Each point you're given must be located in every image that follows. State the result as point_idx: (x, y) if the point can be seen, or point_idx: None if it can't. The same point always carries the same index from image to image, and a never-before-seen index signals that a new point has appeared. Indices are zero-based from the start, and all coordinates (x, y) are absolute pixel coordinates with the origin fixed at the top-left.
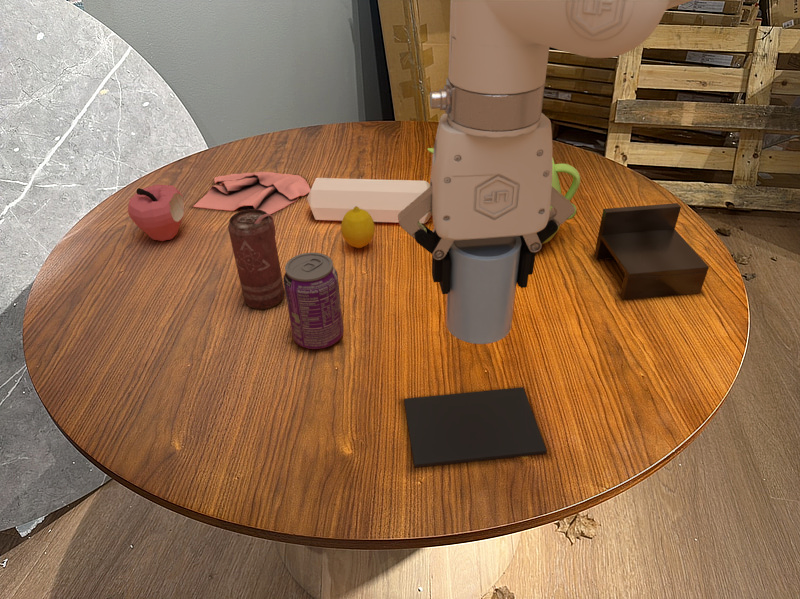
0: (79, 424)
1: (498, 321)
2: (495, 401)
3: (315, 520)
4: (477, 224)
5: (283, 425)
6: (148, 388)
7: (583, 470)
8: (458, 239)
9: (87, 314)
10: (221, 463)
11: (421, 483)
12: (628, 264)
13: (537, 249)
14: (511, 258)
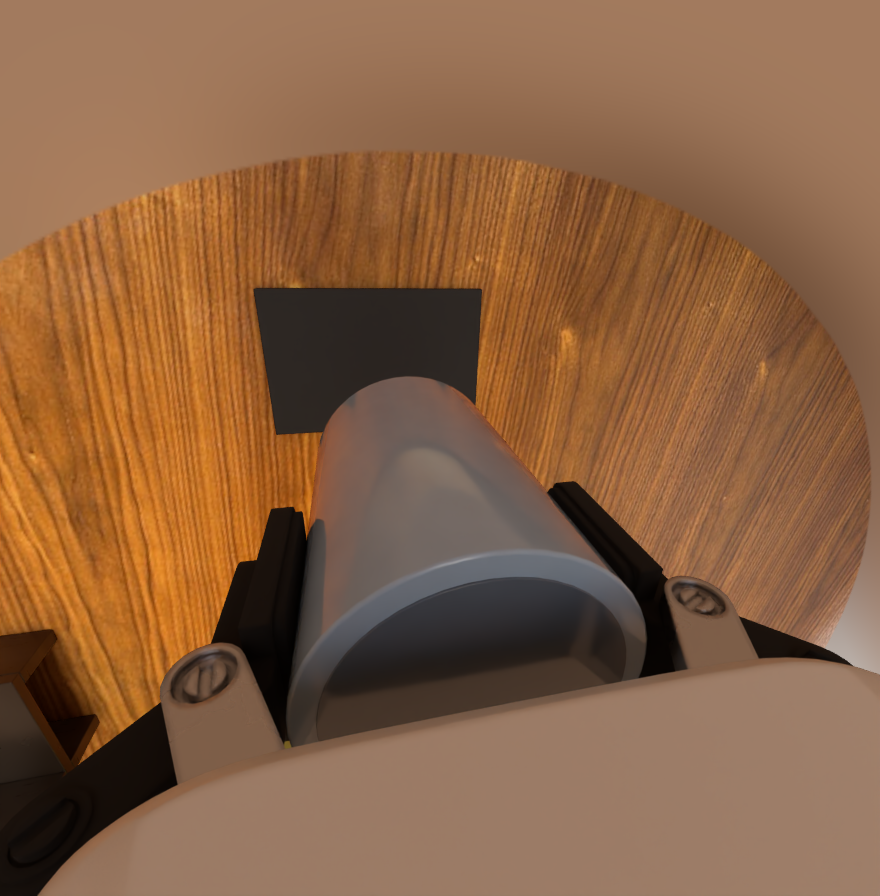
0: (849, 411)
1: (379, 407)
2: (330, 406)
3: (632, 211)
4: (759, 820)
5: (639, 390)
6: (773, 462)
7: (187, 240)
8: (764, 662)
9: (807, 576)
10: (722, 332)
11: (474, 256)
12: (11, 705)
13: (194, 662)
14: (367, 579)
